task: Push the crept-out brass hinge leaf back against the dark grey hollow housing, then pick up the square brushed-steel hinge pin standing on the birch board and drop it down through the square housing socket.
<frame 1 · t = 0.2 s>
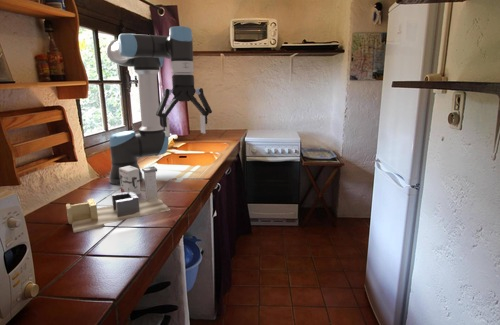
hand: (185, 134, 124), 28 cm above the counter, fingers open, 13 cm apart
hinge pin: (151, 200, 135), point 1 cm above the counter, touching mounting board
ink box: (131, 195, 144), on the counter
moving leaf: (81, 211, 116), point 4 cm above the counter, slide at 6.0 cm
mounting board: (123, 213, 124), on the counter
dark grey hollow housing: (125, 203, 123), on the mounting board, point 4 cm above the counter
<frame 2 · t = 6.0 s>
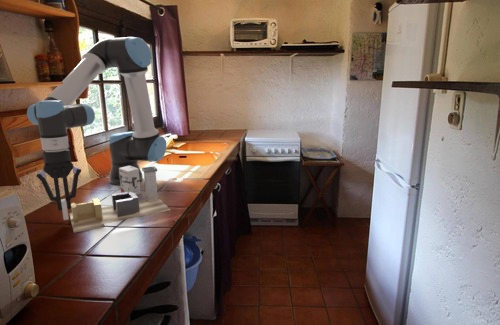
hand: (66, 218, 114), 2 cm above the counter, fingers closed
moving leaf: (86, 210, 117), point 4 cm above the counter, slide at 4.5 cm, touching gripper
everything else where it was.
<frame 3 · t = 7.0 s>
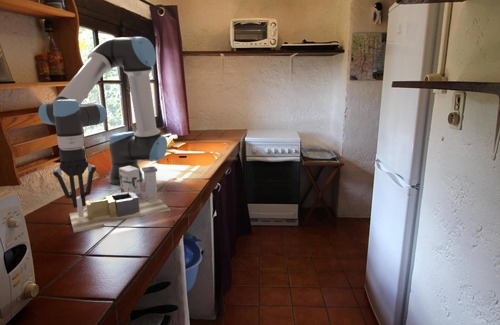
hand: (80, 215, 116), 2 cm above the counter, fingers closed
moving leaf: (100, 207, 119), point 4 cm above the counter, slide at 0.0 cm, touching gripper
everything else where it was.
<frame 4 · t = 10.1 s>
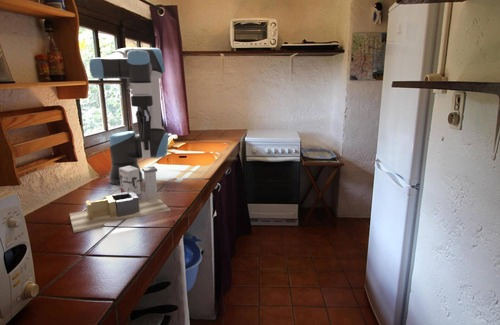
hand: (146, 157, 130), 18 cm above the counter, fingers closed
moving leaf: (100, 207, 119), point 4 cm above the counter, slide at 0.0 cm
everything else where it was.
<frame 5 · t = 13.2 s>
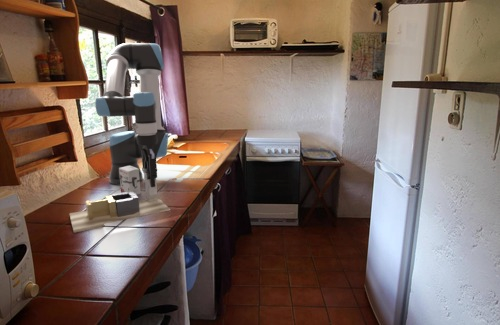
hand: (151, 192, 134), 4 cm above the counter, fingers closed on hinge pin, 4 cm apart
hinge pin: (151, 200, 135), point 1 cm above the counter, touching gripper, mounting board
everything else where it was.
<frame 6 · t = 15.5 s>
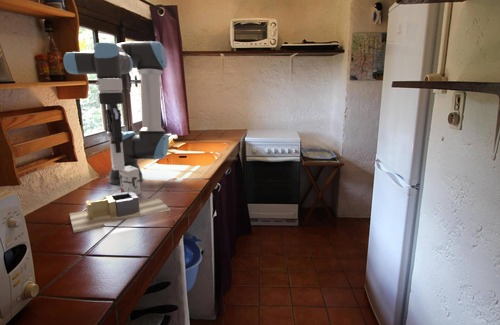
hand: (117, 160, 119), 20 cm above the counter, fingers closed on hinge pin, 4 cm apart
hinge pin: (118, 168, 119), point 17 cm above the counter, touching gripper
everything else where it was.
when the fingers open (8 cm above the counter, at t = 17.9 s): hinge pin drops 3 cm, resting on mounting board.
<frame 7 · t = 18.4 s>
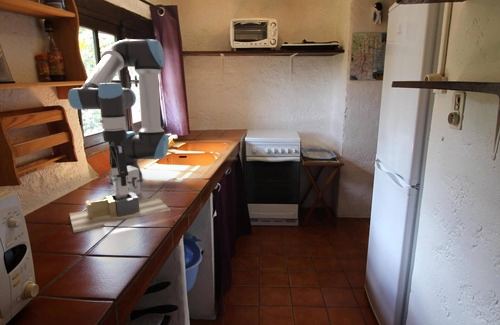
hand: (120, 189, 121), 9 cm above the counter, fingers open, 12 cm apart
hinge pin: (122, 210, 124), point 1 cm above the counter, touching mounting board
everything else where it was.
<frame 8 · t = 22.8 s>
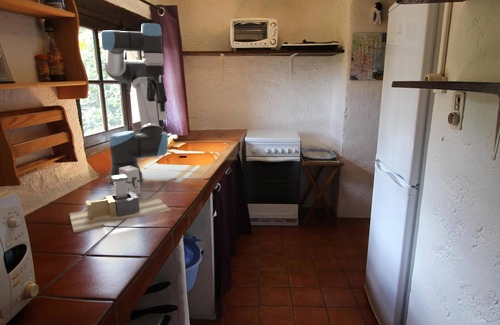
hand: (157, 118, 141), 32 cm above the counter, fingers open, 13 cm apart
nothing on the counter moved.
at the end: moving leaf slide at 0.0 cm; hinge pin 0.4 cm off-centre on the dark grey hollow housing, point 1.0 cm above the dark grey hollow housing's base; hinge pin tilted 0° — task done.
